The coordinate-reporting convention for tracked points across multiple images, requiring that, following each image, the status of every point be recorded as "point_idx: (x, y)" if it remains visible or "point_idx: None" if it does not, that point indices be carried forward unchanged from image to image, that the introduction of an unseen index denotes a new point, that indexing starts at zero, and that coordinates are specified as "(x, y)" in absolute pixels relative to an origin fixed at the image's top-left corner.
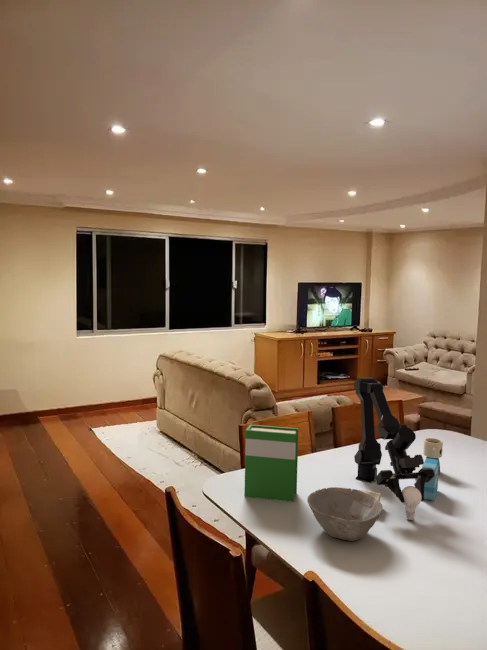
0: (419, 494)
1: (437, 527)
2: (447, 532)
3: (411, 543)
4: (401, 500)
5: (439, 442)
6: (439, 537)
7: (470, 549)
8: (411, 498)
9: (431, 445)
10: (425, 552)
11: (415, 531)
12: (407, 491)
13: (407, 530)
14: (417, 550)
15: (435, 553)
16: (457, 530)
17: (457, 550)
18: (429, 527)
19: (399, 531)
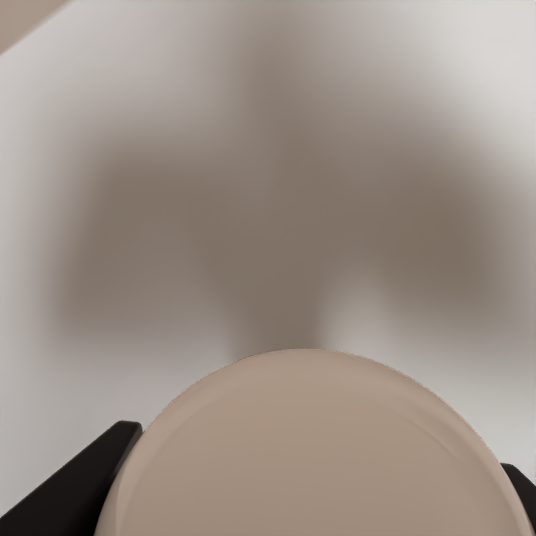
0: (215, 386)
1: (137, 290)
2: (121, 203)
3: (490, 131)
4: None
5: None
6: (235, 156)
7: (146, 4)
8: (412, 379)
9: None
10: (449, 29)
11: (366, 273)
12: (505, 523)
13: (426, 303)
14: (490, 56)
15: (392, 10)
16: (20, 212)
17: (233, 10)
18: (205, 306)
19: (505, 304)
